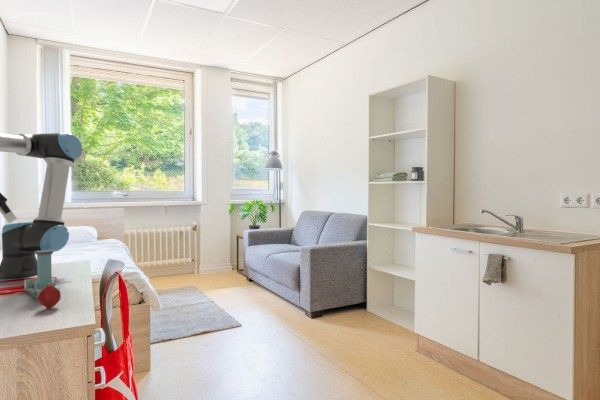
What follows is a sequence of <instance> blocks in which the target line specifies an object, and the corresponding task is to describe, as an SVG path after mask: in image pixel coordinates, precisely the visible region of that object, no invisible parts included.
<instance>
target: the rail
mask: <svg viewBox="0 0 600 400" xmlns="http://www.w3.org/2000/svg"><path fill="white" fill-rule="evenodd" d="M23 281H24V285H23V286H24V292H26V293H27V294H28V295H30V297H31V298H33V299H34V300H35V301H37V302H38V303H39V301H38V296H39V293H40V292H41V291H42V289H44V288H40V289H37V291H36V290H35V289H34V283H36V282H37V277H32V278H29V279H24V280H23ZM54 287H56V288H57V289H58V290H59V291H60V292H61V286H59V285H55V286H54Z"/></svg>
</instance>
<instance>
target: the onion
mask: <svg viewBox="0 0 600 400" xmlns="http://www.w3.org/2000/svg"><path fill="white" fill-rule="evenodd" d="M61 297H62V296H61V290H60V291H59V290H58V289H57V288H56V287H54V286H52V285H51V284H50V283H49V284H47V287H45V288H44V289H42V291H41V292H40V293H39V296H38V301H39V302H38V301H37V302H38V303H39V304H40V305H41V306H43V307H45V308H46V309H48V310H50V309H53V308H54V307H55V306H56V305H57V304H58V303H59V302H60V300H61Z"/></svg>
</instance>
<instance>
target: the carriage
mask: <svg viewBox="0 0 600 400" xmlns="http://www.w3.org/2000/svg"><path fill="white" fill-rule="evenodd" d="M53 254H54V252H53V251H52V250H41V251H35V255H36V259H37V274H36V276H37V277H36V278H37V282H36V283H34V289H35V290H36V291H37V289H40V288H45V287H47V284H49V283H50V284H51V285H52V286H56V282H55V281H54V280H52V275H53V274H52V255H53Z"/></svg>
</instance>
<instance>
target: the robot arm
mask: <svg viewBox="0 0 600 400" xmlns="http://www.w3.org/2000/svg"><path fill="white" fill-rule="evenodd" d="M0 152H3V153H15V154H16V155H17V156H23V157H31V158H37V159H43V160H44V161H45V163H46V169H45V174H44V180H43V186H42V192H41V198H40V204H39V210H38V215H37V217H36V218H34V219H33V220H32V221H23V222H15V223H12V222H14V221H16V220H18V218H17V216H16V215H15V214H14V212H13V211H12V210H11V208H10V207H9V205H8V204H7V201H8V199H7V198H6V196H5V195H3V194H2V193H1V192H0V213H1V215H2V216H3V218H4V219H5V221H6V222H7V224H4V225H3V226H2V228H1V229H2V231H1V246H2V247H1V251H2V258H1V262H0V279H16V278H25V277H31V276H35V275H36V276H37V255H36V254H35V251H41V250H52V251H53V253H55V252H59V251H61V250H62V249H63V248H65V246H66V245H67V243H68V241H69V239H70V232H69V231H68V230H69V229H68V228H67V227H66V226H65V220H63V218H62V217H63V210H64V205H65V197H66V192H67V190H66V189H67V185H68V178H69V173H70V168H71V167H73V166H74V165H75V160H76V159H78V158H80V157H82V154H83V146H82V142H81V141H80V139H79V138H78V137H77V136H76V135H75V134H73V133H71V132H56V133H55V132H53V133H52V132H51V133H50V132H49V133H34V134H24V133H18V134H15V135H14V134H7V133H2V132H1V133H0Z"/></svg>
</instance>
